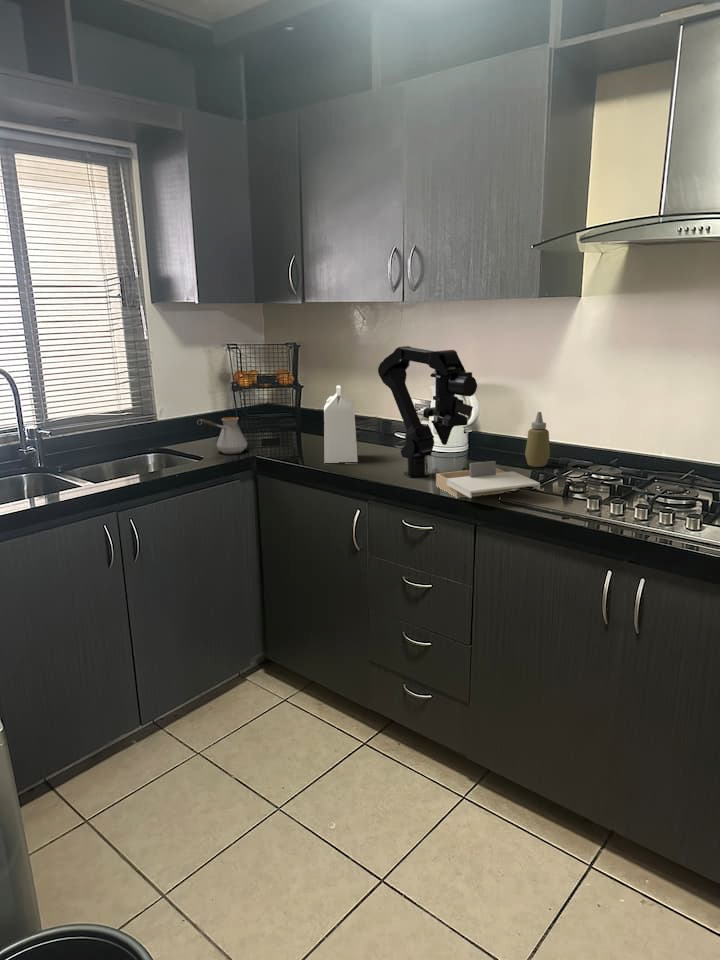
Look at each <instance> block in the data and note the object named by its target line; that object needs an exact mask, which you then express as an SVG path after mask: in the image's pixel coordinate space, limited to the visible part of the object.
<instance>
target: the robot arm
mask: <svg viewBox="0 0 720 960" xmlns="http://www.w3.org/2000/svg"><path fill="white" fill-rule="evenodd" d="M410 362H414V363H418V364H426V365H427V366H429V368H431V369H433V370H434V371H433V372H432V373H431V374H430V377H431V378H435V389H434V390H435V391H434V393H435V395H433V396H432V400H433V401H435V403H434V405H435V406H434V407H425V409H424V410H423V418H426V419H429V418H430V417H433V420H431V424H432V425H433V427H434V429H435V431H436V433H437V436H438V437H439V440H440V442H441V445H442V446H445V445H447V444H448V442H449V438H450V436H451V432H452V430H453V428H454V427H458V426H459V427H460V426H467V425H468V423H469V422H468V421H469V420H468V417H469V418H470V417H471V414H472V411H473V410H474V409H473V408H474V407H473V405H469V404H466V403H464V400H463V399H460V398H458V396H462V397H472V396H474V395H475V393H476V392H477V389H478V383H477V380H476V378H475V377H474V376H473V372H471V371H466V369H465V367H464V365H463V364H462V361H461V359H460V357H459V355H458V351H456V350H455V349H446V350H435V351H434V350H430V349H423V348H418V347H412V346H408V345H407V346H404V345H403V346H398V347H397V348H395V350H394V351H393V352H392V353H390V354H389V355H388V356H386V357H385V358H384V359H383V360H382V361H381V362H380V364H379V365H378V367H377V372H378V376H379V377H380V379H381V381H382V383H383V384H384V385H385V386H386V387H388V388H389V389H390V390H391V393H392V396H393V398H394V401H395V403H396V404H395V405H396V406H397V409H398V411H399V414H400V416H401V419H402V421H403V423H404V426H405V428H406V430H405V431H406V432H405V437H404V439H405V444H404V446H403V447H402V448H401V449H400V454H401V455H400V456H401V457H402V458H405V459H407V471H403V475H405V474H406V476H407V477H409V478H412V479H413V478H421V477H422V478H423V477H430V474H429V473H428V472H426V457H428V456H431V455H432V452H433V448H434V445H435V436H434V435H433V432H432V430H431V429H432V428H431V427H430V426H429V425H427V426H425V425H423V423H422V422H421V419H420V417H419V415H418V412H417V410H416V407H415V404H414V402H413V400H412V397H411V394H410V392H409V389H408V388H407V387H408V386H407V385H406V380H407V376H408V375H407V371H406V370H407V369H408V368H409V367H410ZM456 395H457V396H456Z"/></svg>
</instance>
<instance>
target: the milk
mask: <svg viewBox="0 0 720 960" xmlns="http://www.w3.org/2000/svg"><path fill="white" fill-rule="evenodd" d="M335 387H336V393H335V394H334V395H333V396H332V395H330V396H329V397H328V398H327V399H326V401H325V405H323V423H324V424H323V426H324V427H323V433H324V434H323V435H324V438H323V439H324V441H323V442H324V445H323V447H324V452H323V453H324V454H323V455H324V459H323V460H324V461H323V462H324V464H325V463H339V462H358V449H357V448H358V447H357V432H356V431H357V430H356V429H357V428H356V417H355V415H356V414H355V407H354V405H353V403H351V402H350V400H348V398H346V397H345V396H344V395H343V394H342V391H341V389H342V388H341V385H336V386H335ZM358 463H359V462H358Z"/></svg>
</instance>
